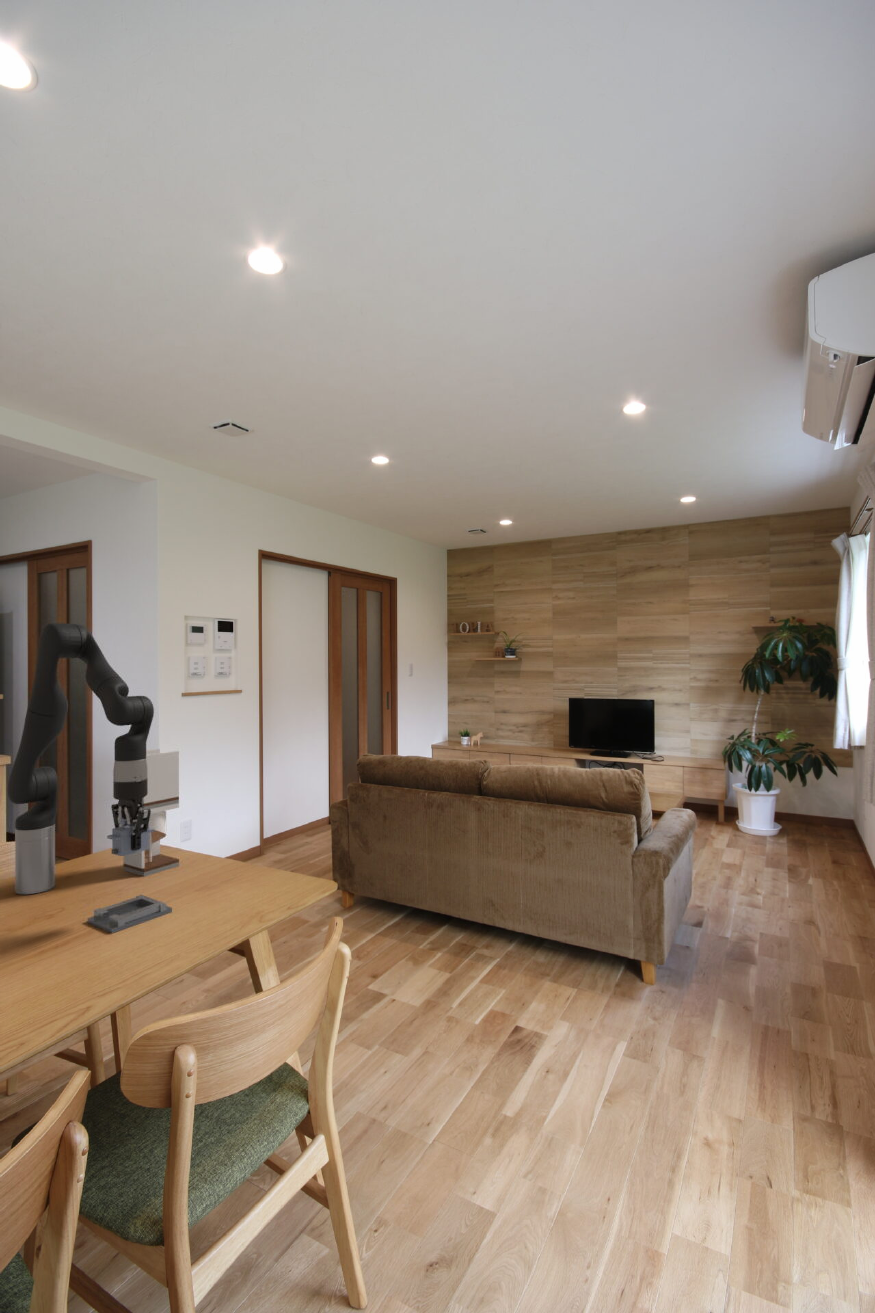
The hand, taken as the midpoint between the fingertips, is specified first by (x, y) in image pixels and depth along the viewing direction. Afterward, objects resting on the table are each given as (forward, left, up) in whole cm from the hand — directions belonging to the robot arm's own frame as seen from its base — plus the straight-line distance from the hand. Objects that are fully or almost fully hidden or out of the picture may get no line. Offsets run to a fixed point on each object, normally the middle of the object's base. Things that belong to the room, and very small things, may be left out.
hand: (130, 848), depth 153 cm
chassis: (0, 0, -17) cm, 17 cm away
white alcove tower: (-31, +24, -17) cm, 43 cm away
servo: (0, 0, -1) cm, 1 cm away
